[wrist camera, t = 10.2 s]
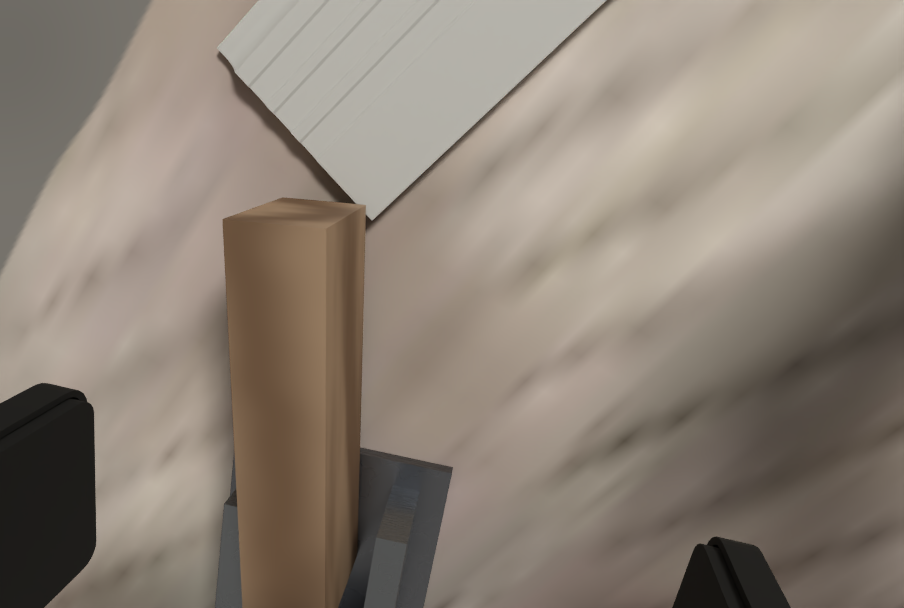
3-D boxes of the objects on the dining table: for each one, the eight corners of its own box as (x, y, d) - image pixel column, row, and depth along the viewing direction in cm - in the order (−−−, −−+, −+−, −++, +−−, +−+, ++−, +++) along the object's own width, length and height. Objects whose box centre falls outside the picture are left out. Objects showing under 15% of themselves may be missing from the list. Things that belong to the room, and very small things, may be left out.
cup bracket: (452, 467, 33) (443, 524, 28) (411, 663, 37) (396, 743, 32) (241, 422, 33) (195, 470, 28) (222, 621, 37) (180, 693, 32)
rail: (365, 205, 28) (326, 228, 22) (357, 554, 34) (324, 643, 28) (282, 197, 28) (222, 219, 22) (289, 545, 34) (243, 631, 29)
